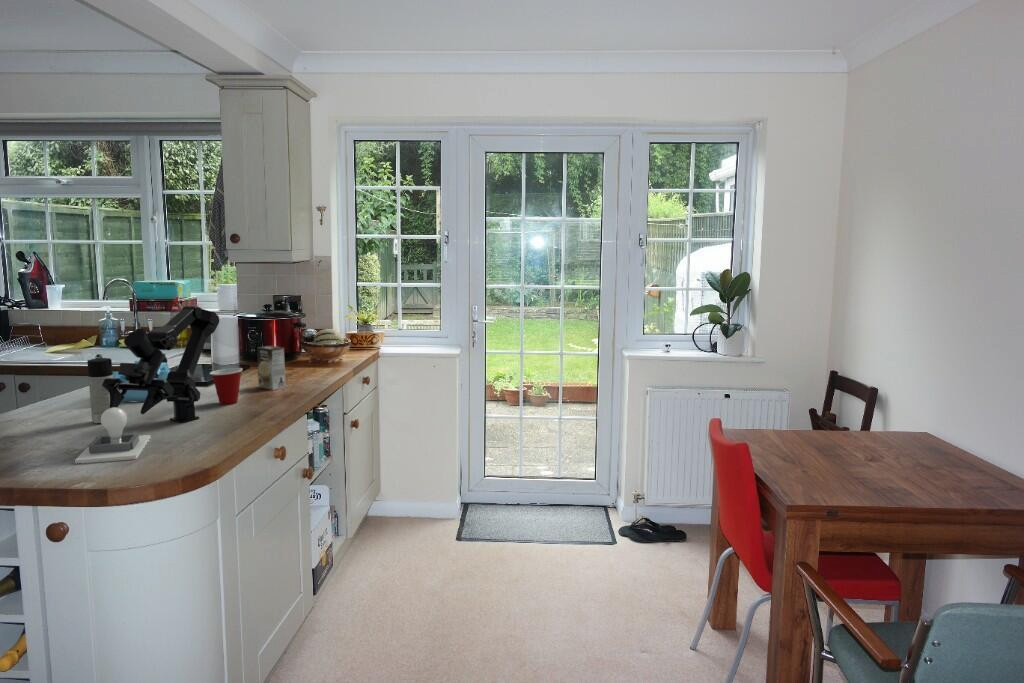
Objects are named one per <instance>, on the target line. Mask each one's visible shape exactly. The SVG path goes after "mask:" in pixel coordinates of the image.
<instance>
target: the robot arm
mask: <svg viewBox="0 0 1024 683" xmlns="http://www.w3.org/2000/svg"><path fill="white" fill-rule="evenodd" d="M219 324H220V317H219V314H217V313H216V312H215V311H211V310H207V309H203V308H201V307H199V306H196V305H193V306H192V305H185V306H183V307H181V310H180V311H179V312H178V313H177V314H175V316H174V317H173V318H171V319H170V320H169V321H168V322H167V323H165V325H163V326H159V327H156V328H153V329H152V330H150V331H149V332H146V330H145V329H144V328H136V329H135V331H133V332H130V333H129V334H128V335H127V336H125V338H124V340H123V343H124V345H125V346H126V348H128V350H130V352H131V353H132V355H133V356H135V357H136V358H138V359H139V362H138V364H135V362H133V363H131V362H120V363H119V367H118V371H117V372H118V374H119V375H124V376H126V377H125V379H126V380H127V381H129V383H123V382H122V381H121V380H120V379H119V378H106V379H105V380H104V381H103V383H102V386H103V387H104V388H105V389H106V390H107V391H108V392H109V393H110V408H112V407H118V408H119V406H120V405H121V404H122V402H123V401H122V400H123V399H124V398H125V397H124V396H123V395H124V394H126V392H127V390H138V391H148V395H147V397H146V399H145V401H143V404H142V406H141V409H140V412H139V413H140V414H141V415H145V414H146V413H147V412H148V411H150V410H151V409H152V408H153V407H155V406H156V405H158V404H160V403H161V402H162V401H163V400H166V401H167V402H169V403H171V402H172V403H173V417H170V418H169V421H173V422H177V421H178V422H177V423H184V422H185V423H186V422H189V421H193V420H198V419H200V416H199V415H196V407H195V402H199V400H200V399H201V392H200V391H199V390H198V388H197V386H196V384H197V383H196V380H195V376H194V374H195V371H196V369H197V366H198V362H199V360H200V358H201V356H202V355H201V354H202V352H203V349H204V347H205V344H206V341H207V338H208V337H210V336H211V335H213V334H214V332H215V331H216V329H217V327H218V326H219ZM188 327H189V328H190V331H191V333H190V336H189V337H188V341H187V342H186V346H185V348H184V351H183V353H182V356H181V359H180V362H179V364H178V367H177V369H176V370H175V371H173V370H172V371H171V370H170V372H169V373H168V376H167V379H166V380H161V379H155V378H158V377H159V375H158V374H157V372H158V370H159V368H160V365H161V363H167V364H168V358H167V356H166V353H163V352H162V351H171V350H172V349H173V348H174V347H175V346H176V344H177V343H178V342H179V341H178V337H179V336H180V335H181V334H182V333H183V332H184V331H185V330H186V329H187V328H188Z"/></svg>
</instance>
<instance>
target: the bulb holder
mask: <svg viewBox="0 0 1024 683" xmlns="http://www.w3.org/2000/svg"><path fill="white" fill-rule="evenodd" d="M151 438H152V437H151V434H145V435H139V434H138V432H137V433H125V434H123V433H122V435H121V440H122V443H115V444H111V441H110V436H109V435H100V436H98V437H96V438H94V439H93V440H92V441H91V442H90V443H89V444H88V446H87V447H86V448H85V449H84V450H83V451H82V453H80V454H79V456H77V458H75V459H74V464H75V465H79V463H81V464H91V463H103V462H116V461H128V460H129V461H130V460H136V459H138V457H139V456H140V454H142V452H143V450H144V449H143V448H145V447H146V446H147V445H148V443H149V441H150V440H151ZM149 439H150V440H149ZM147 442H148V443H147ZM145 445H146V446H145ZM77 463H78V464H77Z"/></svg>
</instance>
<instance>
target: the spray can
mask: <svg viewBox="0 0 1024 683" xmlns="http://www.w3.org/2000/svg"><path fill="white" fill-rule="evenodd" d="M86 362H87V373H88V374H87V375H88V376H87V377H88V387H89V389H88V390H89V397H90V398H89V399H90V400H89V401H90V410H91V412H90V413H91V420H92V423H93V422H94V423H93V424H97V423H101V415H102V414H103V412H104V411H105V410H107V409H109V408H110V393H109V392H108V391H107V390H106V389H105V388H104V387H103V386H102V383H103V381H104V380H105V379H106V378H113V372H114V371H113V362H112V359H111V358H110V357H109V358H108V357H99V358H98V357H97V358H92V359H87V361H86Z"/></svg>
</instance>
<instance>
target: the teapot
mask: <svg viewBox="0 0 1024 683" xmlns="http://www.w3.org/2000/svg"><path fill="white" fill-rule="evenodd" d="M139 360H140V359H139ZM139 360H138V359H137V360H135V361H134V362H133V363H134V364H138V362H139ZM170 371H171V370H170V367H169V365H168V362H167V363H161V365H160V368H159V370H158V372H157V374H158V375H159V377H158V378H155V379H161V380H166V379H167V376H168V373H169V372H170ZM125 377H126V376H124V375H119V374H118V371H113V378H119V379H120V380H121V381H122V382H123V383H129V381H127V380H126V379H125ZM147 395H148V391H138V390H127V392H126V394H124V395H123V396H124V397H125V398H124V399H123V400H122V402H124V401H143V402H145V399H146V397H147Z"/></svg>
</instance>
